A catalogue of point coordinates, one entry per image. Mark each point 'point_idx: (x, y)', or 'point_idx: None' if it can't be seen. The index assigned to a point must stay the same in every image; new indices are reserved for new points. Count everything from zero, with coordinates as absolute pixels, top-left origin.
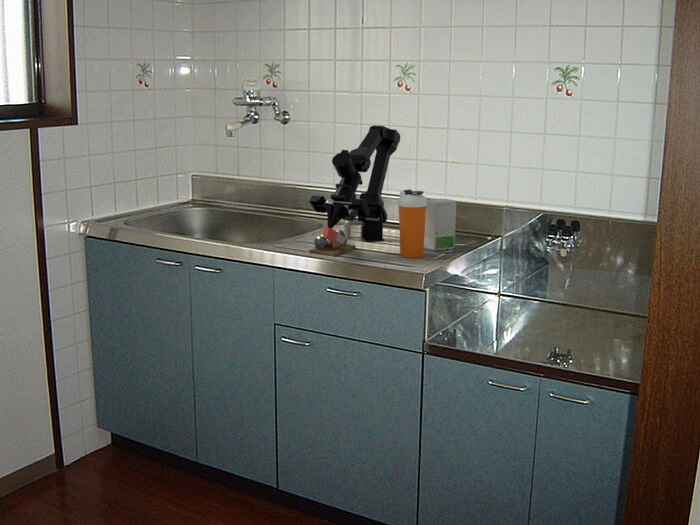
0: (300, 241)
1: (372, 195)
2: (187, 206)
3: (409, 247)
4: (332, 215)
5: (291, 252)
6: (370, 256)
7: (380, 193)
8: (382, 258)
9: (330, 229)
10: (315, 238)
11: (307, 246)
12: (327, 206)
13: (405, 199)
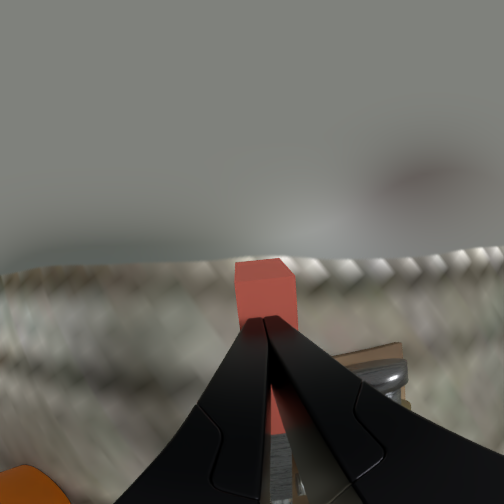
0: (500, 442)
1: None
2: None
3: (4, 472)
4: (255, 410)
5: (448, 297)
6: (120, 448)
7: None
8: (68, 432)
9: (239, 319)
10: (405, 361)
11: (460, 420)
12: (501, 483)
13: None
